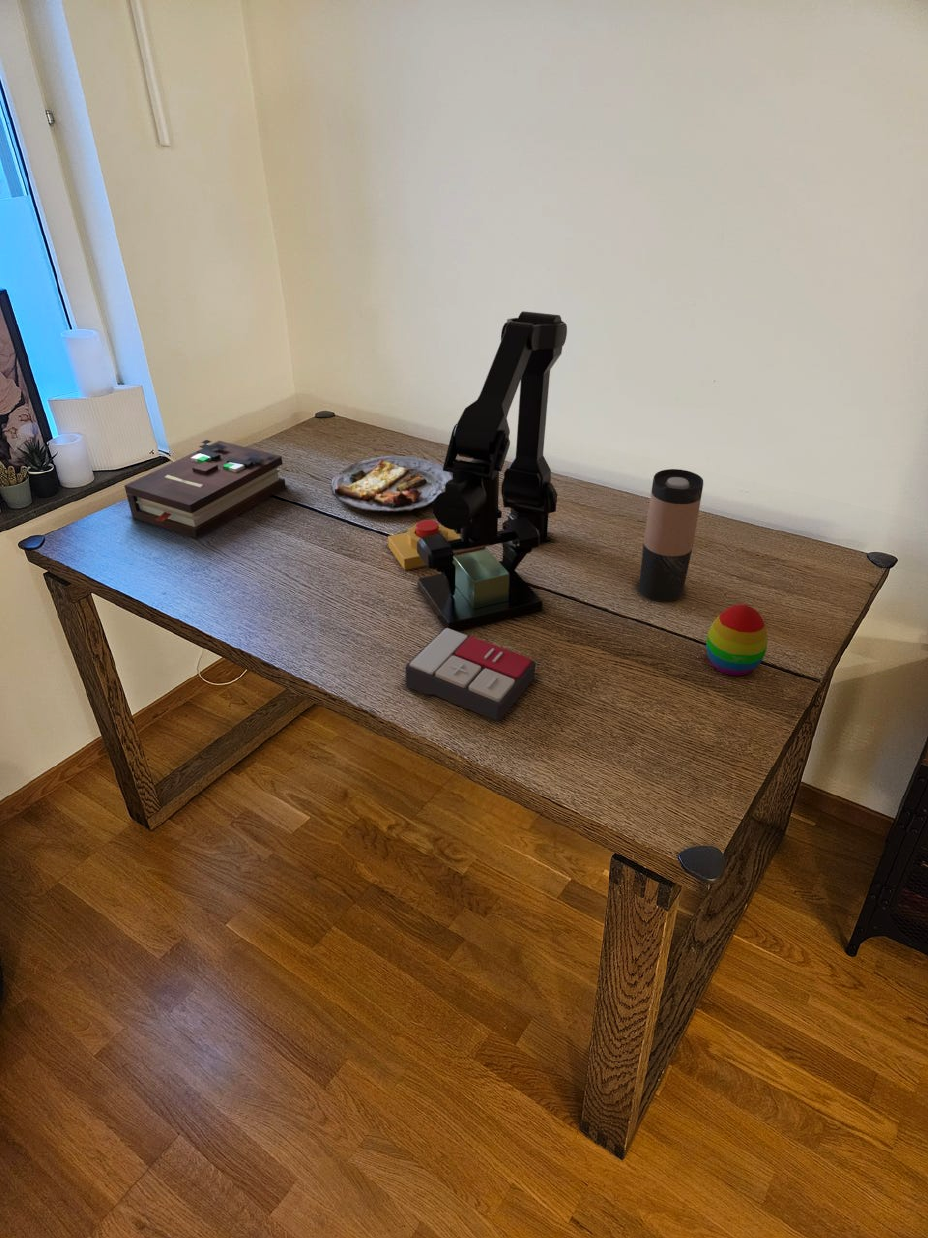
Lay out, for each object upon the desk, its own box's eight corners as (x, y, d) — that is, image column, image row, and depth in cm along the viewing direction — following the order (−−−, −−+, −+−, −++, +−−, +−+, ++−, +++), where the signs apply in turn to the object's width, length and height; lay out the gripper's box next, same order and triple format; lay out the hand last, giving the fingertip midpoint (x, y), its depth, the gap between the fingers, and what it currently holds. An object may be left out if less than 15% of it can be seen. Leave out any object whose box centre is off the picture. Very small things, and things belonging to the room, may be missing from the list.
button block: (449, 534, 150) (449, 515, 148) (468, 556, 143) (468, 536, 141) (388, 546, 146) (387, 527, 144) (404, 570, 139) (403, 550, 137)
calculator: (501, 701, 105) (404, 662, 110) (498, 726, 107) (404, 686, 113) (537, 657, 113) (445, 622, 118) (534, 680, 115) (444, 645, 121)
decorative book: (108, 484, 150) (222, 431, 172) (118, 520, 154) (228, 465, 176) (184, 507, 142) (293, 449, 164) (192, 545, 147) (297, 483, 168)
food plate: (403, 530, 151) (402, 513, 149) (308, 501, 161) (306, 485, 159) (473, 482, 169) (473, 466, 167) (383, 458, 179) (382, 443, 177)
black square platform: (504, 569, 139) (505, 559, 138) (542, 611, 129) (542, 600, 128) (417, 588, 134) (417, 578, 133) (448, 633, 124) (448, 623, 123)
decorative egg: (745, 689, 113) (760, 631, 107) (692, 666, 117) (704, 608, 111) (770, 662, 118) (785, 605, 112) (718, 641, 122) (730, 585, 116)
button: (434, 526, 145) (433, 518, 144) (442, 536, 142) (442, 527, 141) (413, 530, 143) (412, 522, 142) (420, 541, 140) (420, 532, 139)
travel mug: (686, 582, 136) (706, 472, 125) (681, 606, 130) (701, 492, 119) (640, 575, 138) (656, 465, 127) (633, 597, 132) (649, 485, 121)
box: (508, 600, 128) (509, 572, 125) (473, 609, 126) (474, 580, 123) (483, 570, 135) (483, 543, 132) (449, 578, 133) (449, 550, 130)
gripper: (512, 470, 131) (509, 554, 139) (403, 489, 125) (407, 576, 133) (544, 498, 122) (538, 586, 131) (428, 520, 116) (431, 610, 125)
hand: (478, 588), depth 130 cm, fingers open, 9 cm apart
